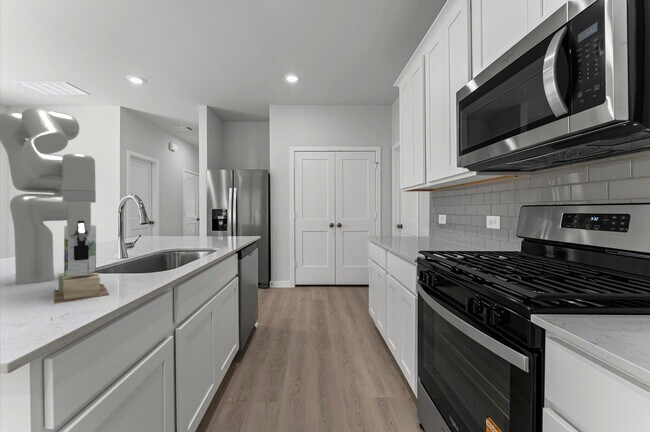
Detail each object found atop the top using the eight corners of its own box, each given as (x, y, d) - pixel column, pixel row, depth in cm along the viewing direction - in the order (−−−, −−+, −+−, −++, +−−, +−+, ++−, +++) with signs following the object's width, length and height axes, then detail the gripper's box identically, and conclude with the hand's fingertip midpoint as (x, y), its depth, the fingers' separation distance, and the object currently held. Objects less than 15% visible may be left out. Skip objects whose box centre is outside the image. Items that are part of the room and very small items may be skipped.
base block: (63, 293, 89) (62, 276, 89) (97, 288, 94) (96, 272, 94) (63, 299, 83) (63, 281, 83) (100, 294, 88) (99, 277, 88)
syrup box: (73, 272, 90) (72, 224, 90) (97, 271, 92) (96, 224, 92) (63, 276, 85) (62, 225, 84) (88, 275, 86) (87, 225, 86)
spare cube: (58, 289, 93) (58, 273, 93) (79, 286, 96) (79, 271, 96) (58, 293, 89) (58, 276, 89) (80, 290, 92) (80, 273, 92)
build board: (54, 294, 93) (54, 290, 93) (102, 288, 101) (102, 283, 101) (54, 309, 79) (53, 303, 79) (109, 300, 87) (109, 294, 87)
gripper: (62, 197, 92) (63, 255, 92) (62, 196, 79) (64, 263, 79) (93, 198, 97) (93, 253, 97) (98, 197, 84) (99, 260, 84)
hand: (80, 257), depth 88 cm, fingers closed on syrup box, 7 cm apart
